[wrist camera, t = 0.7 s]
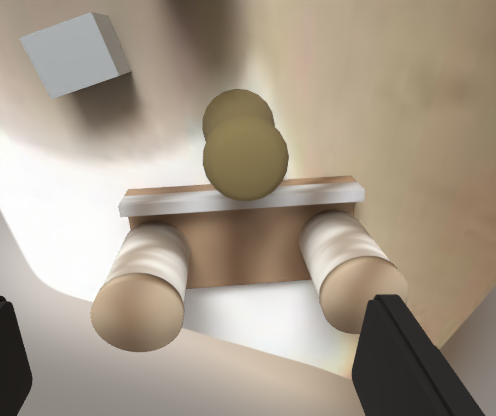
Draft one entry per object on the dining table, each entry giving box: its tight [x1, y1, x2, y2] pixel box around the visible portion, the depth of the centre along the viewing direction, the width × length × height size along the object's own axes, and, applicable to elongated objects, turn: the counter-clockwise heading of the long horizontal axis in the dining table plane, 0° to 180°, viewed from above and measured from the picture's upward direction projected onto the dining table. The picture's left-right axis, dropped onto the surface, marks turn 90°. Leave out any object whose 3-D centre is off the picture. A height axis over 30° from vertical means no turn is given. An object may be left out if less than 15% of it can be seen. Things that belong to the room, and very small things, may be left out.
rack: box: [91, 176, 409, 352], centre depth 30 cm, size 22×10×10 cm, turn 92°
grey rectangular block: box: [19, 12, 131, 99], centre depth 26 cm, size 5×4×4 cm
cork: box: [202, 89, 289, 202], centre depth 26 cm, size 6×6×11 cm
